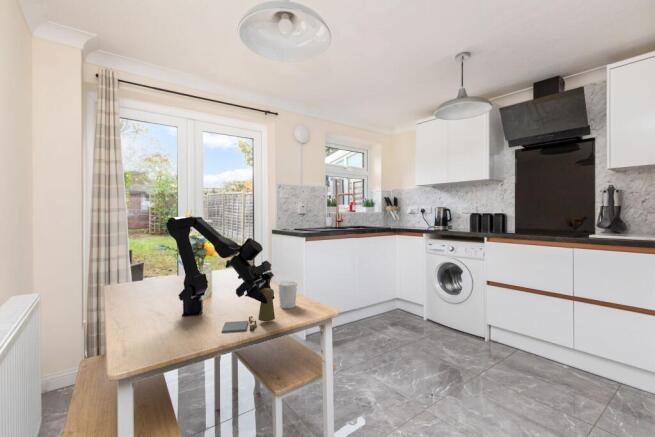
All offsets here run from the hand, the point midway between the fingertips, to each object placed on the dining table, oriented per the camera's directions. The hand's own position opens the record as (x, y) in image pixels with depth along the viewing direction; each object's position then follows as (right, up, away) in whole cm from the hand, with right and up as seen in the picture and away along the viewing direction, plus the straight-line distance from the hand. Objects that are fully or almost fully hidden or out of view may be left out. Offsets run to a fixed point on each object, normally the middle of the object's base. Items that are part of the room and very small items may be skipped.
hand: (270, 301), depth 110 cm
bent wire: (-6, -8, -2) cm, 10 cm away
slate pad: (-12, -8, -4) cm, 15 cm away
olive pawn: (-1, -7, +1) cm, 7 cm away
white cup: (+4, -8, +19) cm, 21 cm away
